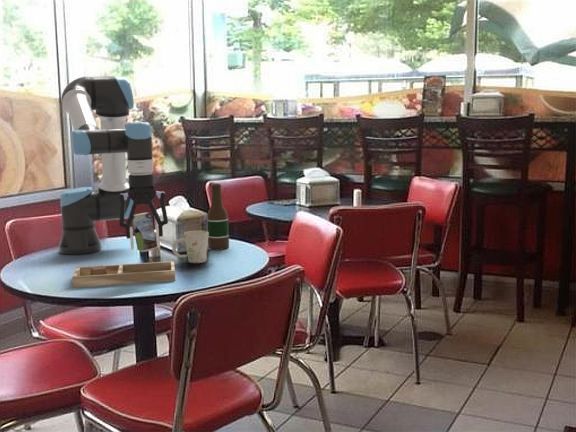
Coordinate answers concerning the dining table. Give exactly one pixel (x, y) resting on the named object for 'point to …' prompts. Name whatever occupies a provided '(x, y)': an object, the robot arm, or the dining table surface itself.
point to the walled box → (125, 274)
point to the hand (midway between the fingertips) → (145, 247)
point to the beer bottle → (217, 221)
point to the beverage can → (144, 232)
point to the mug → (194, 246)
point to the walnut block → (98, 270)
